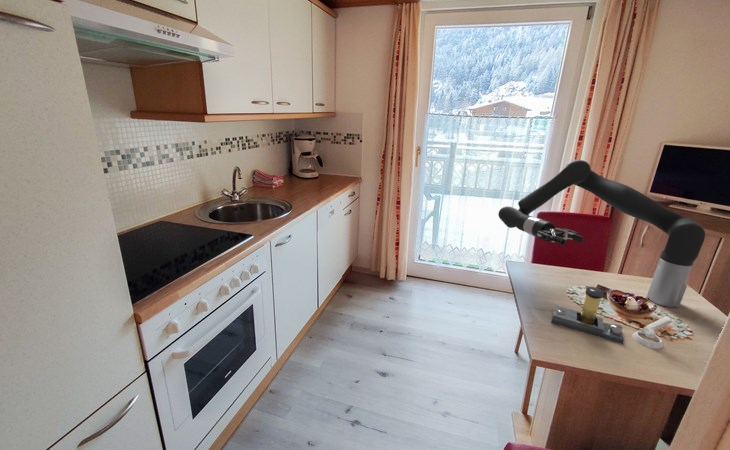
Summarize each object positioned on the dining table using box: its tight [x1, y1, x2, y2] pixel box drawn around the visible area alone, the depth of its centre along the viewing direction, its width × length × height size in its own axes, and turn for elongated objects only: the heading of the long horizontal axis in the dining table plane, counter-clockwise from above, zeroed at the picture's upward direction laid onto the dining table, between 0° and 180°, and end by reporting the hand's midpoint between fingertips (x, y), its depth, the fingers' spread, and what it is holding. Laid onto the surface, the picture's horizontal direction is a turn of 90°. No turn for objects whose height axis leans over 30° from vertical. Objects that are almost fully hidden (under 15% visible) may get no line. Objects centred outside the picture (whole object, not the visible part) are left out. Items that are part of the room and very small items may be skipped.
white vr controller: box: [632, 316, 673, 349], centre depth 104 cm, size 8×12×7 cm
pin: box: [579, 286, 605, 325], centre depth 110 cm, size 5×5×14 cm
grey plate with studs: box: [551, 304, 625, 345], centre depth 111 cm, size 20×8×3 cm, turn 58°
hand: (574, 241), depth 118 cm, fingers open, 8 cm apart
